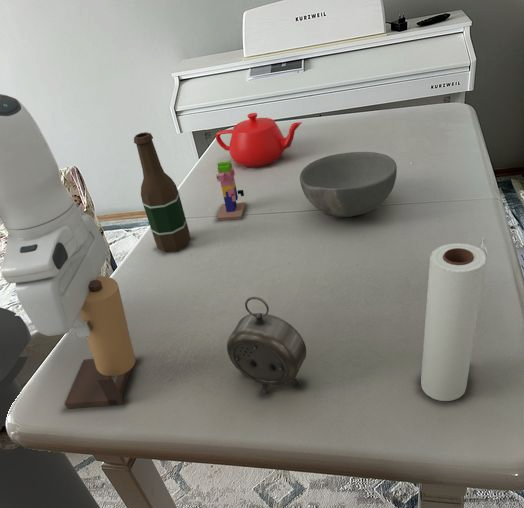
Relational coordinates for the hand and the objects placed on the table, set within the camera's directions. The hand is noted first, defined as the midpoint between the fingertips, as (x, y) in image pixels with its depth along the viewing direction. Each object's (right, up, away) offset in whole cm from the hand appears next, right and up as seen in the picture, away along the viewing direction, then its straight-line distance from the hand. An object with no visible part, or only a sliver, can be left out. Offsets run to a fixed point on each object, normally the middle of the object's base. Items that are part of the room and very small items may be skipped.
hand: (94, 318), depth 75 cm
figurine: (+17, +28, +48) cm, 58 cm away
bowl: (+44, +26, +40) cm, 65 cm away
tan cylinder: (+4, -2, +1) cm, 5 cm away
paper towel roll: (+50, -10, -2) cm, 51 cm away
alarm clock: (+26, -10, +4) cm, 28 cm away
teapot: (+24, +48, +70) cm, 88 cm away
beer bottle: (+5, +19, +41) cm, 45 cm away
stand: (-1, -10, +9) cm, 14 cm away
